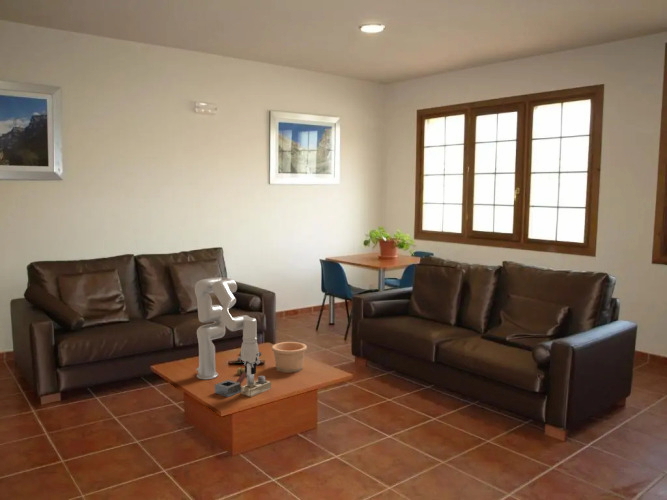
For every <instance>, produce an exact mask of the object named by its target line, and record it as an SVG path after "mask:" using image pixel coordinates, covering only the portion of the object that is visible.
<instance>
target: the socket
mask: <svg viewBox="0 0 667 500" xmlns="http://www.w3.org/2000/svg"><path fill="white" fill-rule="evenodd" d="M241 384H242V382H241V383H238V382H237V381H234V380H230V379H227V380H223V381H221V382H217V383H216V384H214V394H215V395H219V396H221V397H226V398H229V397H232V396H235V395H237V394H239V393H240V394H241V387H242V385H241Z"/></svg>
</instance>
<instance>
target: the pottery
mask: <svg viewBox="0 0 667 500" xmlns="http://www.w3.org/2000/svg"><path fill="white" fill-rule="evenodd" d="M307 349H308V347H307V344H305V343H302V342H298V341H297V342H296V341H282V342H278V343H275V344H272V346H271V350H272V351H273V354H274V355H273V356H274V362H275V369H276V371H277V372H280V373H285V374H286V373H287V374H289V373H291V374H292V373H298V372H300V371H302V370H303V366H304V361H305V353H306V351H307Z"/></svg>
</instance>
